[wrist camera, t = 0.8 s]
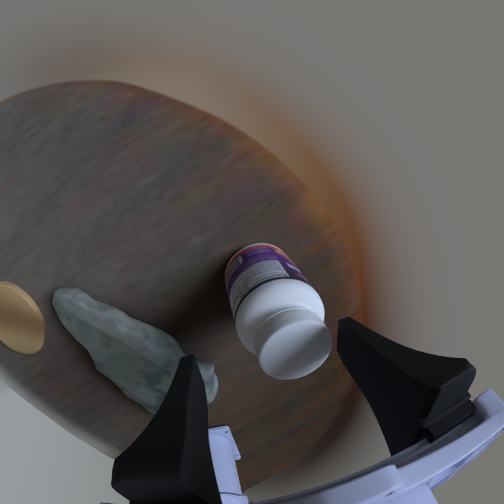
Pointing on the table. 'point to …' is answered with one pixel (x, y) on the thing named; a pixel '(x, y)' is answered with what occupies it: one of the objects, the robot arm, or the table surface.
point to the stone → (126, 348)
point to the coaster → (20, 320)
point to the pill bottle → (276, 312)
